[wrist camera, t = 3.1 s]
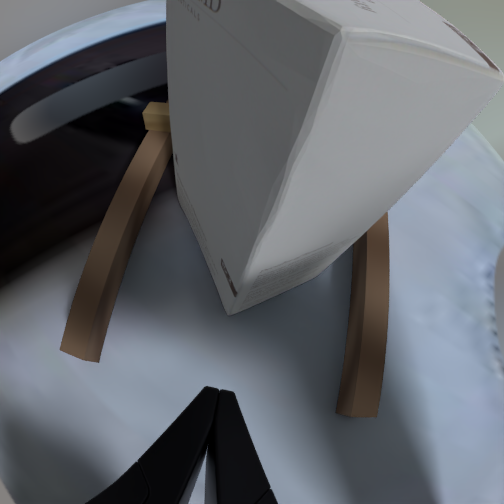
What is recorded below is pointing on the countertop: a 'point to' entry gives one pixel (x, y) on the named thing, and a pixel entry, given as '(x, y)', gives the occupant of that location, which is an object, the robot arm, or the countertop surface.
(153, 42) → the countertop surface
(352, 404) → the guide track
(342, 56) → the skincare box
